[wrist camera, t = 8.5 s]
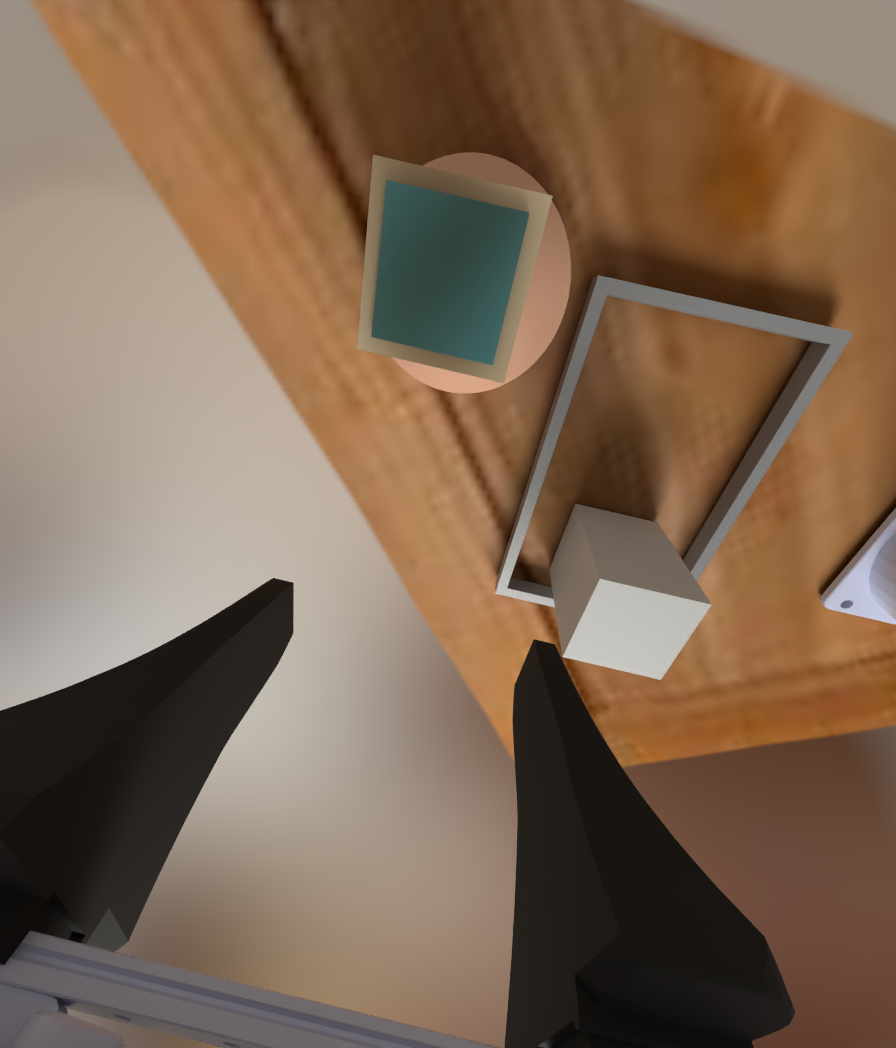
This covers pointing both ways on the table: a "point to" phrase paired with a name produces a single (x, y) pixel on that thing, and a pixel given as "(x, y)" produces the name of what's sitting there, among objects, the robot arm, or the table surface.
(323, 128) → the table surface
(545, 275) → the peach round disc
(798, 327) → the open rectangular frame
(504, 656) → the table surface
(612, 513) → the grey block
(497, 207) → the tan and teal block
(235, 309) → the table surface
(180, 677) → the robot arm
